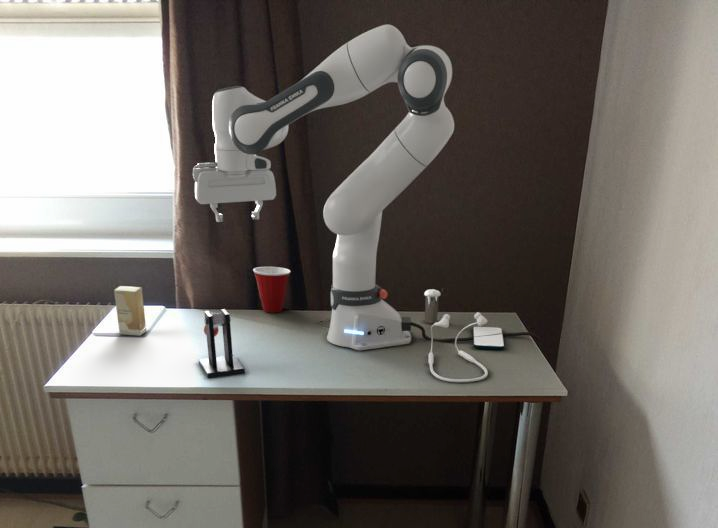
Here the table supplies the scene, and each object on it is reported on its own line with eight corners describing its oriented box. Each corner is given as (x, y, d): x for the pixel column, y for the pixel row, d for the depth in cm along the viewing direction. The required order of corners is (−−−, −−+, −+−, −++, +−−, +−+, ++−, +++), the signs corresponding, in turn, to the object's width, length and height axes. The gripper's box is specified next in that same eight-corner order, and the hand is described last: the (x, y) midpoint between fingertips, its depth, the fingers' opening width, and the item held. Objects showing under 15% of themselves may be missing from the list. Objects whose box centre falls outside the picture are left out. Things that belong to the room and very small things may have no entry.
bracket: (198, 363, 186) (193, 308, 179) (234, 359, 189) (230, 304, 182) (207, 378, 178) (202, 321, 171) (244, 373, 181) (240, 316, 174)
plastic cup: (299, 309, 225) (298, 268, 219) (273, 317, 218) (271, 275, 212) (273, 302, 231) (271, 262, 225) (247, 310, 224) (245, 269, 218)
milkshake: (440, 325, 212) (443, 289, 207) (421, 323, 213) (423, 288, 208) (442, 320, 216) (444, 285, 211) (423, 319, 217) (425, 284, 212)
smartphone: (472, 329, 209) (473, 348, 195) (472, 326, 209) (473, 345, 195) (501, 331, 208) (504, 350, 195) (502, 327, 208) (504, 346, 194)
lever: (204, 339, 188) (201, 325, 188) (218, 337, 189) (215, 323, 189) (212, 327, 175) (209, 311, 175) (227, 325, 177) (224, 310, 176)
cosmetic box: (119, 334, 204) (112, 289, 198) (125, 329, 208) (119, 285, 202) (141, 336, 204) (135, 291, 197) (147, 331, 207) (141, 286, 201)
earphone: (467, 335, 193) (490, 306, 175) (476, 397, 191) (500, 374, 173) (416, 338, 191) (434, 309, 173) (424, 401, 189) (443, 378, 171)
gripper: (194, 165, 180) (200, 225, 187) (276, 161, 186) (279, 219, 193) (189, 161, 185) (194, 220, 192) (269, 158, 191) (272, 215, 198)
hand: (237, 220), depth 192 cm, fingers open, 8 cm apart
